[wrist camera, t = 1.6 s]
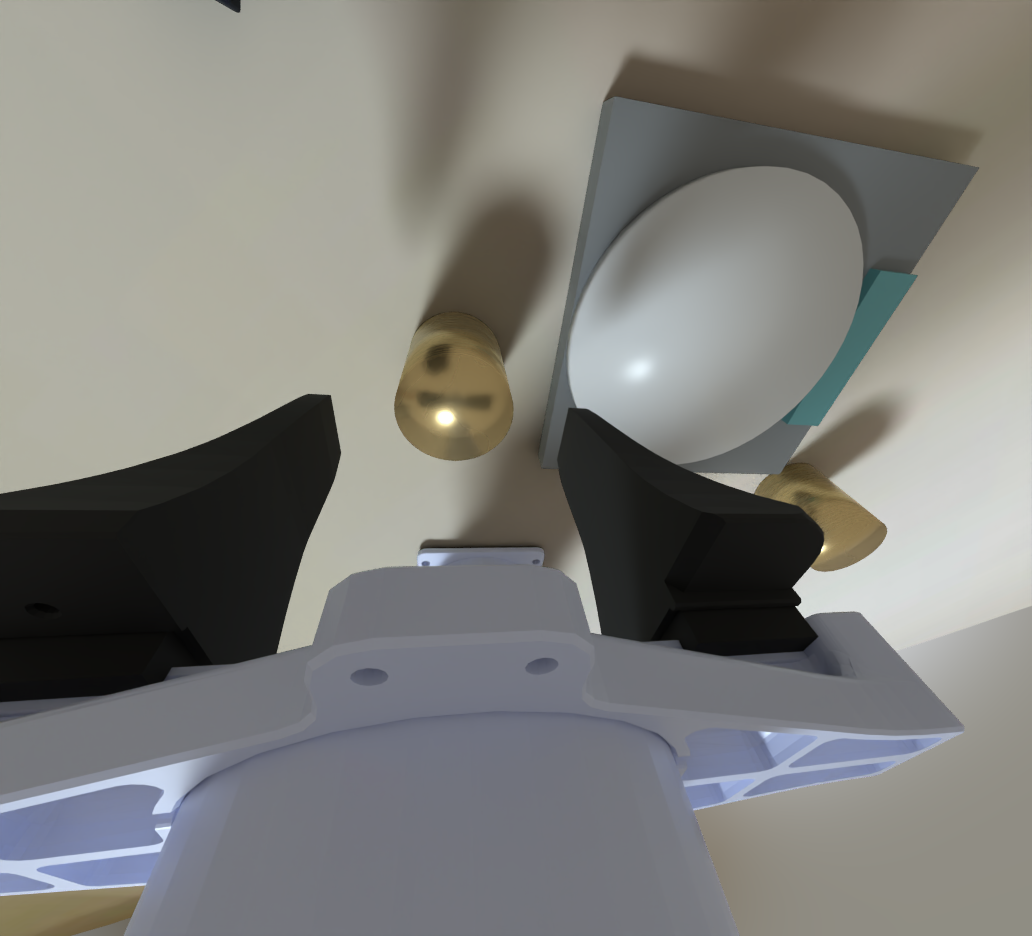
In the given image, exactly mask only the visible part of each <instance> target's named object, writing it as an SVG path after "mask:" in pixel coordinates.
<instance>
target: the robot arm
mask: <svg viewBox="0 0 1032 936" xmlns="http://www.w3.org/2000/svg"><path fill="white" fill-rule="evenodd" d="M340 456H341V450H340V444H339V439H338V433H337V428H336V422H335V416H334V411H333V405H332V400H331V395H319V394H307V395H304V396H302V397H299V398H297V399H295V400H293V401H291V402H289V403H287V404H285V405H284V406H282V407H280V408H278V409H276V410H274V411H272V412H270V413H268V414H266V415H265V416H263V417H261V418H259V419H257V420H255V421H253V422H251V423H249V424H246V425H244V426H242V427H240V428H238V429H236V430H234V431H232V432H229V433H227V434H225V435H223V436H221V437H218V438H216V439H214V440H211V441H209V442H206V443H204V444H201V445H198V446H196V447H193V448H190V449H187V450H185V451H182V452H179V453H176V454H173V455H170V456H166V457H163V458H160V459H156V460H153V461H149V462H146V463H143V464H139V465H136V466H133V467H129V468H125V469H121V470H117V471H113V472H109V473H105V474H101V475H97V476H92V477H88V478H83V479H79V480H74V481H69V482H64V483H59V484H54V485H49V486H43V487H37V488H32V489H26V490H20V491H14V492H8V493H3V494H0V896H5V895H18V894H32V893H46V892H60V891H73V890H87V889H101V888H115V887H128V886H142V885H146V886H145V888H144V890H143V893H142V895H141V897H140V899H139V902H138V904H137V906H136V908H135V911H134V913H133V915H132V918H131V920H130V922H129V924H128V927H127V929H126V931H125V933H124V936H740V935H739V932H738V930H737V927H736V924H735V921H734V919H733V916H732V914H731V911H730V908H729V905H728V903H727V900H726V897H725V895H724V892H723V889H722V887H721V884H720V881H719V879H718V876H717V873H716V871H715V868H714V865H713V862H712V860H711V857H710V854H709V851H708V849H707V846H706V843H705V841H704V838H703V835H702V833H701V830H700V827H699V824H698V822H697V819H696V816H695V814H694V811H693V810H698V809H702V808H707V807H712V806H716V805H721V804H725V803H730V802H735V801H740V800H744V799H749V798H754V797H758V796H763V795H768V794H773V793H777V792H782V791H788V790H793V789H797V788H802V787H808V786H813V785H819V784H825V783H830V782H836V781H843V780H849V779H856V778H863V777H870V776H876V775H879V774H881V773H883V772H885V771H887V770H889V769H891V768H893V767H895V766H897V765H899V764H901V763H903V762H905V761H907V760H909V759H911V758H913V757H915V756H917V755H919V754H921V753H923V752H925V751H927V750H929V749H931V748H933V747H935V746H937V745H939V744H941V743H943V742H945V741H947V740H949V739H951V738H953V737H955V736H957V735H959V734H961V733H963V732H964V725H963V724H962V723H961V722H960V721H959V720H958V719H957V718H956V717H955V715H953V714H952V712H951V711H950V710H949V709H948V708H947V707H946V706H945V705H944V703H943V702H942V701H941V700H940V699H939V698H938V697H937V696H936V695H935V694H934V693H933V692H932V690H931V689H930V688H929V687H928V686H927V685H926V684H925V683H924V682H923V681H922V680H921V679H920V677H919V676H918V675H917V674H916V673H915V672H914V671H913V670H912V669H911V668H910V667H909V666H908V664H907V663H906V662H905V661H904V660H903V659H902V658H901V657H900V656H899V655H898V654H897V652H896V651H895V650H894V649H893V648H892V647H891V646H890V645H889V644H888V643H887V642H886V641H885V639H884V638H883V637H882V636H881V635H880V634H879V633H878V632H877V631H876V630H875V629H874V627H873V626H872V625H871V624H870V623H869V622H868V621H867V620H866V619H865V618H864V617H863V616H862V614H861V613H859V612H833V613H819V614H814V615H811V616H809V617H807V618H805V619H804V617H803V616H802V615H801V613H800V612H799V611H798V610H797V608H796V607H795V606H798V605H799V604H800V603H801V598H800V597H799V596H798V594H797V593H796V592H795V591H794V589H793V588H792V587H793V586H794V585H795V584H796V583H797V581H798V580H799V579H800V578H801V577H802V576H803V574H804V573H805V572H806V571H807V570H808V569H809V568H810V566H811V565H812V564H813V563H814V562H815V560H816V559H817V557H818V556H819V555H820V553H821V550H822V547H823V544H824V532H823V530H822V529H821V528H820V526H819V525H818V524H817V523H816V522H815V521H814V520H813V519H812V518H811V517H810V516H809V515H808V514H807V513H806V512H805V511H804V510H803V509H802V508H800V507H799V506H797V505H793V504H789V503H785V502H781V501H778V500H774V499H770V498H766V497H762V496H758V495H755V494H751V493H748V492H745V491H742V490H739V489H736V488H733V487H729V486H727V485H724V484H721V483H718V482H716V481H713V480H710V479H708V478H706V477H703V476H701V475H698V474H696V473H693V472H691V471H689V470H687V469H684V468H682V467H680V466H678V465H676V464H674V463H672V462H670V461H668V460H666V459H665V458H663V457H661V456H659V455H657V454H655V453H654V452H652V451H650V450H649V449H647V448H646V447H644V446H642V445H641V444H639V443H637V442H636V441H634V440H633V439H631V438H630V437H628V436H627V435H626V434H624V433H623V432H621V431H620V430H618V429H617V428H616V427H614V426H613V425H611V424H610V423H608V422H607V421H606V420H604V419H603V418H601V417H600V416H598V415H597V414H595V413H594V412H592V411H591V410H589V409H586V408H568V412H567V417H566V421H565V426H564V430H563V435H562V439H561V444H560V448H559V453H558V457H557V462H558V468H559V474H560V478H561V483H562V486H563V489H564V492H565V495H566V498H567V501H568V504H569V506H570V509H571V512H572V515H573V517H574V520H575V523H576V525H577V528H578V531H579V534H580V536H581V540H582V543H583V546H584V550H585V554H586V558H587V563H588V567H589V571H590V576H591V581H592V585H593V590H594V595H595V600H596V605H597V611H598V617H599V622H600V628H601V633H602V635H600V634H594V633H590V629H589V626H588V622H587V619H586V615H585V612H584V609H583V605H582V602H581V598H580V595H579V591H578V588H577V584H576V583H575V582H574V581H572V580H571V579H570V578H569V577H567V576H566V575H565V574H564V573H562V572H561V571H560V570H557V569H554V568H548V567H542V564H543V560H544V551H543V549H541V548H538V547H525V548H426V549H421V550H420V551H419V552H418V556H417V563H418V566H402V567H384V568H378V569H373V570H368V571H362V572H357V573H354V574H351V575H350V576H349V577H347V578H346V579H344V580H343V581H342V582H340V583H339V584H337V585H336V586H335V587H333V588H332V589H330V590H329V593H328V596H327V600H326V603H325V606H324V609H323V612H322V616H321V619H320V622H319V625H318V629H317V632H316V635H315V638H314V641H313V645H310V646H306V647H302V648H298V649H294V650H290V651H285V652H281V653H277V649H278V645H279V641H280V637H281V632H282V628H283V624H284V620H285V616H286V612H287V608H288V604H289V601H290V597H291V593H292V590H293V586H294V582H295V579H296V576H297V572H298V569H299V566H300V562H301V559H302V556H303V552H304V549H305V547H306V544H307V542H308V539H309V537H310V534H311V532H312V530H313V528H314V525H315V523H316V521H317V519H318V516H319V514H320V512H321V510H322V507H323V505H324V503H325V501H326V498H327V496H328V494H329V491H330V489H331V487H332V484H333V482H334V479H335V476H336V472H337V468H338V464H339V460H340ZM535 559H536V560H535ZM426 561H427V562H426Z"/></svg>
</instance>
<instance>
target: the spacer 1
mask: <svg viewBox="0 0 1032 936" xmlns="http://www.w3.org/2000/svg"><path fill="white" fill-rule="evenodd" d="M394 410H395V417H396V420H397V424H398V426H399V428H400V430H401V432H402V433H403V435H404V436H405V437H406V439H407V440H408V441H409V442H410V443H411V444H412V445H413V446H415V447H416V448H417V449H419V450H420V451H422V452H424V453H425V454H428V455H430V456H432V457H435V458H439V459H443V460H452V461H461V460H468V459H472V458H476V457H479V456H481V455H483V454H485V453H487V452H489V451H490V450H492V449H493V448H495V447H496V446H497V445H498V444H499V443H500V442H501V441H502V440H503V438H504V437H505V436H506V434H507V432H508V430H509V429H510V426H511V423H512V419H513V401H512V397H511V393H510V388H509V384H508V380H507V376H506V372H505V368H504V364H503V360H502V356H501V352H500V348H499V344H498V342H497V339H496V337H495V335H494V334H493V332H492V331H491V330H490V329H489V328H488V326H487V325H486V324H484V323H483V322H482V321H480V320H479V319H477V318H475V317H473V316H471V315H468V314H465V313H460V312H446V313H442V314H438V315H436V316H433V317H431V318H430V319H428V320H427V321H425V322H424V323H423V324H422V325H421V326H420V327H419V328H418V330H417V331H416V332H415V334H414V336H413V338H412V342H411V345H410V348H409V352H408V355H407V358H406V362H405V365H404V369H403V372H402V376H401V379H400V383H399V386H398V389H397V393H396V397H395V403H394Z"/></svg>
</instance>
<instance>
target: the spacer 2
mask: <svg viewBox="0 0 1032 936" xmlns="http://www.w3.org/2000/svg"><path fill="white" fill-rule="evenodd" d="M754 494H755V495H758V496H762V497H766V498H770V499H774V500H778V501H781V502H785V503H789V504H793V505H797V506H799V507H800V508H802V509H803V510H804V511H805V512H806V513H807V514H808V515H809V516H810V517H811V518H812V519H813V520H814V521H815V522H816V523H817V524H818V525H819V526H820V528H821V529H822V530H823V532H824V544H823V547H822V550H821V553H820V555H819V556H818V557H817V559H816V560H815V562H814V563H813V564H812V565H811V568H813V569H814V570H817V571H824V572H826V571H834V570H839V569H842V568H845V567H848V566H850V565H852V564H854V563H857V562H858V561H860V560H862V559H864V558H865V557H867V556H868V555H869V554H871V553H872V552H873V551H874V550H876V549H877V548H878V547H879V546H880V544H881V543H882V542H883V540H884V539H885V537H886V534H887V528H886V526H885V524H883V523H882V522H881V521H880V520H878V519H877V518H876V517H875V516H873V515H872V514H871V513H870V512H869V511H867V510H866V509H865V508H864V507H862V506H861V505H860V504H859V503H857V502H856V501H855V500H854V499H852V498H851V497H850V496H849V495H847V494H846V493H845V492H844V491H843V490H841V489H840V488H839V487H838V486H836V485H835V484H834V483H833V482H831V481H830V480H829V479H828V478H826V477H825V476H824V475H823V474H822V473H820V472H819V471H818V470H817V469H815V468H814V467H813V466H811V465H809V464H806V463H795V464H790V465H787V466H785V467H784V469H783V470H782V472H781V473H780V474H770V475H769V476H767V477H766V478H765V479H764V480H763V481H762V482H761V483H760V484H759V486H758V487H757V489H756V491H755V493H754Z"/></svg>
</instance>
